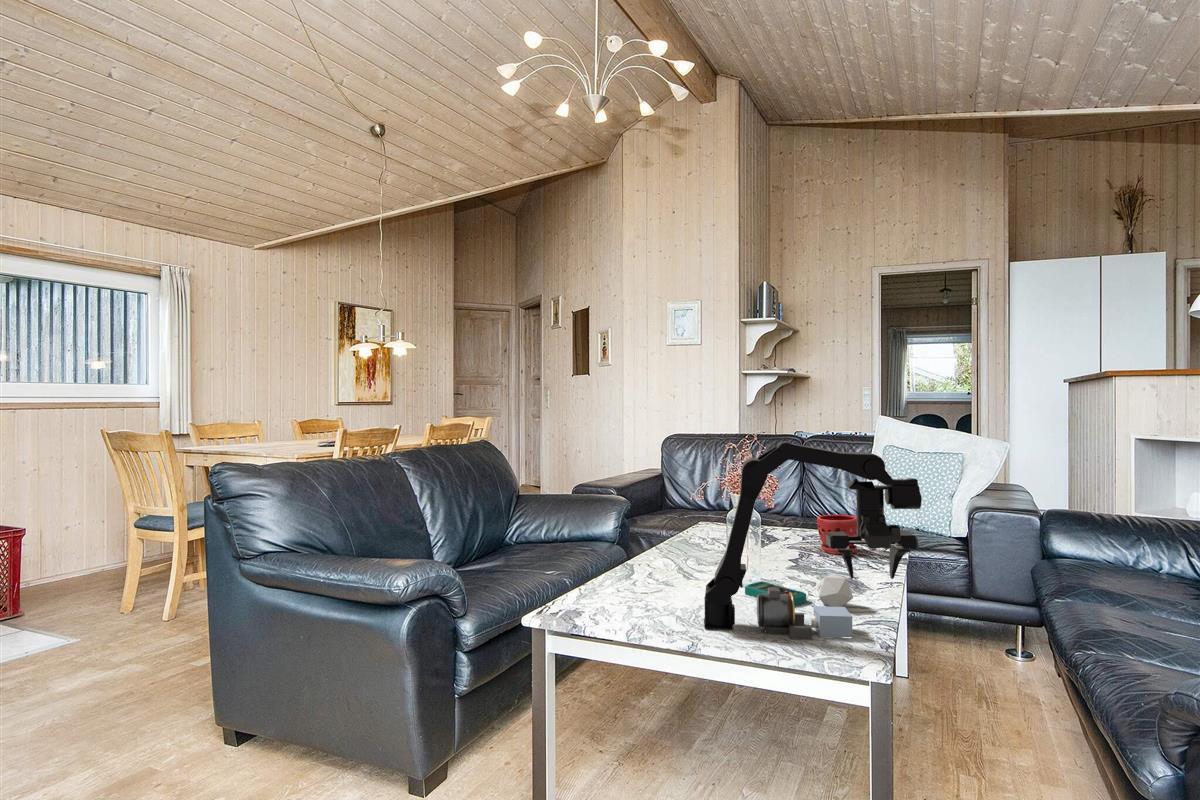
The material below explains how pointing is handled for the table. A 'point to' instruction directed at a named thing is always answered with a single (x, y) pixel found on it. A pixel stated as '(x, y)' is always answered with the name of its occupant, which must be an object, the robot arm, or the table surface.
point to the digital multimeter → (763, 587)
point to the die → (834, 591)
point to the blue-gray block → (832, 621)
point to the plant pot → (836, 529)
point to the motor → (775, 611)
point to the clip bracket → (800, 629)
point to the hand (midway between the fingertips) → (871, 578)
